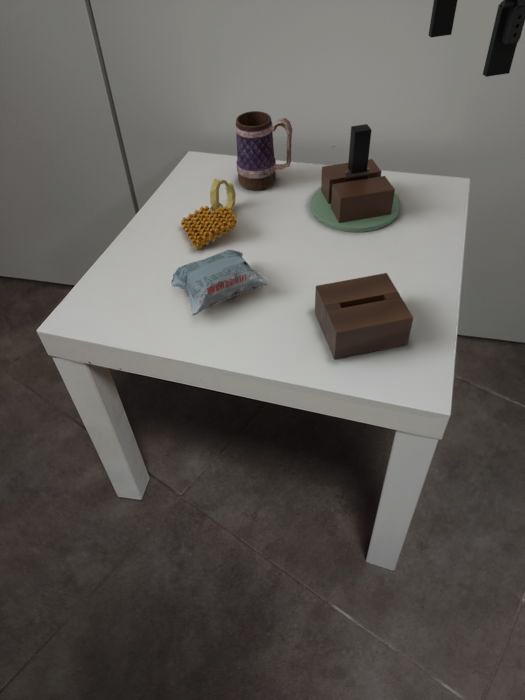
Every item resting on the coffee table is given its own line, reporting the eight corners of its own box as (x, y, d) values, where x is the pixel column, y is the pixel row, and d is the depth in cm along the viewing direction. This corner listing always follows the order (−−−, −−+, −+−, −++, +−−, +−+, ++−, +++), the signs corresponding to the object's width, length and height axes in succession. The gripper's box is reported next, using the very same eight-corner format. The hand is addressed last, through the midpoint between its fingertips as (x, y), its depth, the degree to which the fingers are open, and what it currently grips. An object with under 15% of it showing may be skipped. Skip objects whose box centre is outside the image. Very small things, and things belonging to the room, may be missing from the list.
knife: (367, 203, 92) (376, 128, 82) (344, 207, 91) (350, 132, 82) (363, 197, 93) (371, 123, 84) (341, 200, 93) (346, 126, 83)
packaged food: (269, 295, 79) (267, 268, 75) (194, 325, 75) (189, 298, 71) (242, 263, 84) (239, 237, 80) (171, 290, 80) (165, 263, 77)
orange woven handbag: (215, 232, 81) (250, 164, 87) (159, 231, 86) (196, 166, 92) (231, 263, 86) (263, 196, 93) (178, 260, 91) (212, 197, 97)
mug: (232, 188, 98) (226, 123, 90) (245, 168, 103) (241, 105, 94) (286, 196, 96) (285, 130, 87) (297, 176, 100) (297, 111, 92)
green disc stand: (413, 223, 89) (419, 194, 85) (325, 238, 87) (326, 209, 83) (380, 177, 99) (383, 149, 95) (300, 190, 97) (300, 162, 93)
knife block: (407, 345, 71) (413, 317, 67) (334, 359, 70) (336, 332, 66) (382, 300, 77) (386, 272, 73) (314, 312, 76) (315, 285, 72)
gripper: (419, -206, 56) (393, 25, 71) (566, -204, 39) (490, 98, 54) (487, -211, 57) (447, 18, 72) (658, -211, 40) (558, 88, 55)
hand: (465, 53), depth 63 cm, fingers open, 13 cm apart
